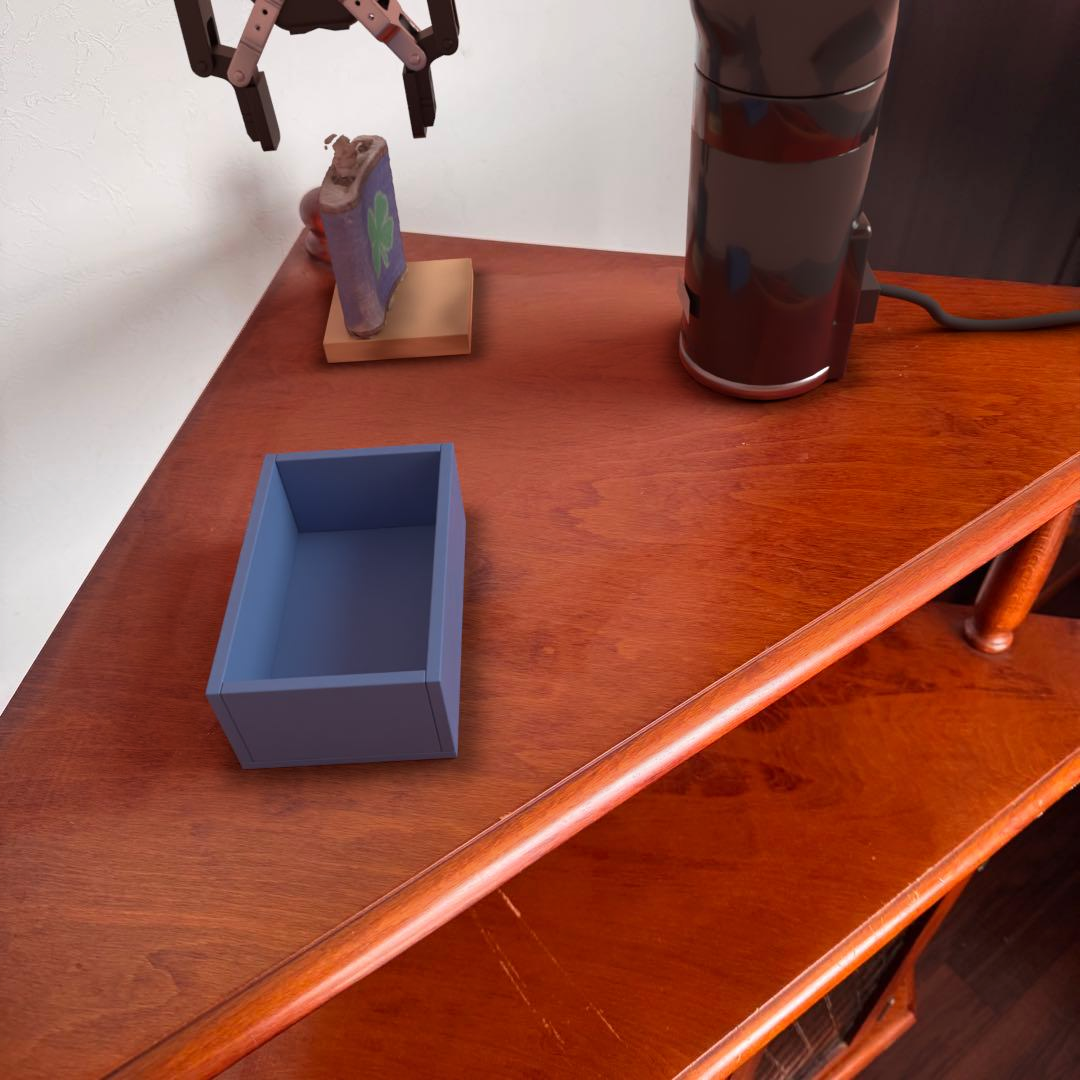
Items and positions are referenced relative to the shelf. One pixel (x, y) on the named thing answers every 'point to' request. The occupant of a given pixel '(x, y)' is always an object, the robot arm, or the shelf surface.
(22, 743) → the shelf surface
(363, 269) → the flask
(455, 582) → the bin
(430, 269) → the board
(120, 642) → the shelf surface
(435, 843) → the shelf surface
